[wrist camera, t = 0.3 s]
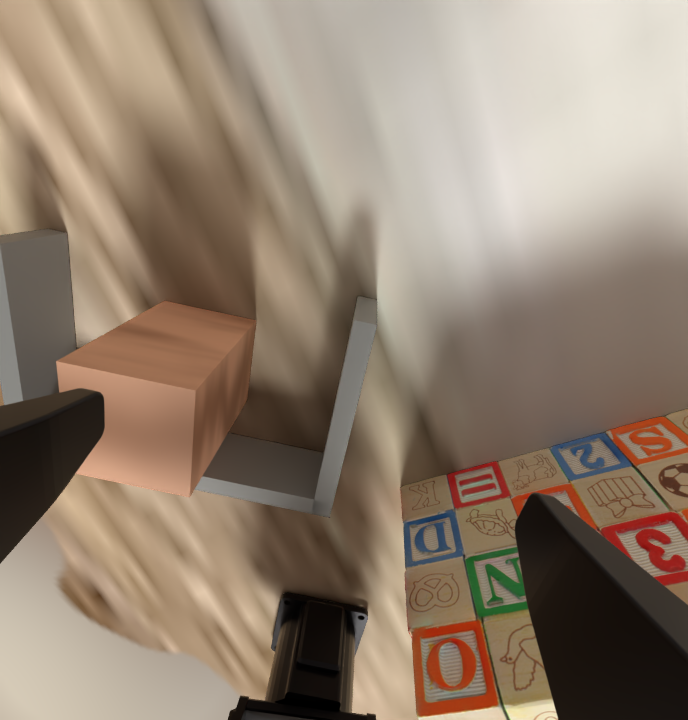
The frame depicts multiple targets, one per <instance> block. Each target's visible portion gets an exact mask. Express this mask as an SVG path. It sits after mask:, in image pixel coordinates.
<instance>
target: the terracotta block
mask: <svg viewBox="0 0 688 720" xmlns="http://www.w3.org/2000/svg"><path fill="white" fill-rule="evenodd" d="M255 329H256V320H252V319H247V318H243V317H238V316H233V315H229V314H224V313H219V312H215V311H210V310H205V309H201V308H196V307H191V306H187V305H182V304H177V303H173V302H168V301H163V302H161V303H159V304H158V305H156V306H154V307H152V308H150V309H149V310H147V311H145V312H143V313H141V314H140V315H138V316H136V317H134V318H133V319H131V320H129V321H127V322H125V323H124V324H122V325H120V326H118V327H116V328H115V329H113V330H111V331H109V332H107V333H106V334H104V335H102V336H100V337H99V338H97V339H95V340H93V341H91V342H90V343H88V344H86V345H84V346H82V347H81V348H79V349H77V350H75V351H73V352H72V353H70V354H68V355H66V356H65V357H63V358H61V359H59V360H57V361H56V364H57V374H58V384H59V393H60V392H64V391H69V390H73V389H77V388H85V389H89V390H94V391H98V392H101V393H102V394H103V396H104V406H105V428H104V432H103V435H102V437H101V438H100V440H99V441H98V443H97V444H96V446H95V447H94V448H93V450H92V451H91V452H90V454H89V455H88V457H87V458H86V459H85V461H84V462H83V464H82V465H81V466H80V468H79V469H78V471H77V472H76V473H75V474H80V475H85V476H89V477H94V478H99V479H104V480H109V481H113V482H118V483H123V484H128V485H133V486H138V487H142V488H147V489H152V490H157V491H162V492H166V493H171V494H176V495H181V496H186V497H190V496H191V494H192V493H193V491H194V489H195V488H196V486H197V484H198V483H199V481H200V479H201V477H202V476H203V474H204V472H205V471H206V469H207V467H208V466H209V464H210V462H211V461H212V459H213V457H214V456H215V454H216V452H217V450H218V449H219V447H220V445H221V444H222V442H223V440H224V439H225V437H226V435H227V434H228V432H229V430H230V429H231V427H232V425H233V423H234V422H235V420H236V418H237V417H238V415H239V413H240V412H241V410H242V408H243V407H244V405H245V403H246V402H247V398H248V389H249V381H250V372H251V363H252V355H253V346H254V338H255Z"/></svg>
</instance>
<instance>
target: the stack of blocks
mask: <svg viewBox="0 0 688 720" xmlns="http://www.w3.org/2000/svg"><path fill="white" fill-rule="evenodd" d="M400 490H401V503H402V519H403V524H404V549H405V568H406V571H405V591H406V606H407V622H408V632H409V634H410V636H411V638H412V650H413V666H414V682H415V697H416V713H417V717H418V720H558V717H557V713H556V710H555V706H554V702H553V699H552V695H551V691H550V688H549V684H548V680H547V677H546V673H545V669H544V666H543V662H542V658H541V655H540V651H539V648H538V644H537V640H536V637H535V633H534V629H533V626H532V622H531V618H530V614H529V610H528V606H527V601H526V596H525V591H524V585H523V579H522V573H521V567H520V561H519V555H518V549H517V543H516V537H515V523H516V520H517V518H518V516H519V514H520V512H521V510H522V508H523V506H524V504H525V502H526V500H527V499H528V497H529V495H530V494H532V493H534V492H537V493H542V494H546V495H551V496H553V497H555V498H556V499H558V500H559V501H560V502H561V503H563V504H564V505H565V506H566V507H568V508H569V509H570V510H571V511H572V512H574V513H575V514H576V515H577V516H579V517H580V518H581V519H582V520H584V521H585V522H586V523H587V524H589V525H590V526H591V527H592V528H594V529H595V530H596V531H597V532H598V533H600V534H601V535H602V536H603V537H605V538H606V539H607V540H608V541H610V542H611V543H612V544H613V545H615V546H616V547H617V548H618V549H619V550H621V551H622V552H623V553H624V554H626V555H627V556H628V557H629V558H631V559H632V560H633V561H634V562H636V563H637V564H638V565H639V566H641V567H642V568H643V569H644V570H645V571H647V572H648V573H649V574H650V575H652V576H653V577H654V578H655V579H657V580H658V581H659V582H660V583H662V584H663V585H664V586H665V587H666V588H668V589H669V590H670V591H671V592H673V593H674V594H675V595H676V596H678V597H679V598H680V599H681V600H683V601H684V602H685V603H686V604H687V605H688V409H685V410H681V411H678V412H674V413H671V414H668V415H666V416H664V417H656V418H652V419H648V420H645V421H641V422H637V423H633V424H629V425H625V426H622V427H618V428H615V429H610V430H607V431H606V432H605V433H600V434H596V435H592V436H589V437H585V438H581V439H578V440H574V441H571V442H567V443H563V444H559V445H555V446H552V447H551V448H547V449H542V450H538V451H535V452H531V453H528V454H524V455H520V456H517V457H513V458H509V459H506V460H502V461H499V462H496V461H495V462H491V463H487V464H483V465H479V466H476V467H472V468H469V469H465V470H461V471H457V472H454V473H450V474H447V475H441V476H438V477H434V478H430V479H426V480H423V481H419V482H415V483H412V484H408V485H404V486H402V487H401V489H400Z"/></svg>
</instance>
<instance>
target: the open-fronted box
mask: <svg viewBox="0 0 688 720" xmlns="http://www.w3.org/2000/svg"><path fill="white" fill-rule="evenodd" d="M376 328H377V300H376V299H371V298H366V297H362V296H358V297H357V302H356V307H355V311H354V316H353V320H352V325H351V329H350V334H349V338H348V343H347V348H346V352H345V357H344V361H343V366H342V370H341V375H340V379H339V384H338V389H337V393H336V398H335V402H334V407H333V411H332V416H331V421H330V425H329V430H328V434H327V439H326V443H325V448H324V452H323V453H322V452H317V451H313V450H308V449H303V448H298V447H294V446H289V445H284V444H279V443H275V442H270V441H265V440H260V439H256V438H251V437H246V436H241V435H237V434H232V433H228V434H227V435H226V437H225V439H224V440H223V442H222V444H221V445H220V447H219V449H218V450H217V452H216V454H215V456H214V457H213V459H212V461H211V462H210V464H209V466H208V467H207V469H206V471H205V472H204V474H203V476H202V477H201V479H200V481H199V483H198V484H197V486H196V488H195V489H194V490H199V491H204V492H208V493H213V494H218V495H223V496H228V497H232V498H237V499H242V500H247V501H252V502H256V503H261V504H266V505H271V506H276V507H280V508H285V509H290V510H295V511H300V512H304V513H309V514H314V515H319V516H324V517H328V518H330V514H331V510H332V506H333V502H334V498H335V494H336V490H337V486H338V482H339V477H340V473H341V469H342V465H343V461H344V457H345V453H346V449H347V445H348V441H349V437H350V433H351V429H352V425H353V421H354V417H355V413H356V409H357V405H358V401H359V397H360V392H361V388H362V384H363V380H364V376H365V372H366V368H367V364H368V360H369V356H370V352H371V348H372V344H373V340H374V336H375V332H376ZM75 350H76V338H75V326H74V313H73V301H72V288H71V275H70V263H69V250H68V238H67V233H65V232H60V231H56V230H51V229H42V230H35V231H28V232H21V233H14V234H7V235H0V383H1V389H2V395H3V400H4V405H7V404H12V403H16V402H20V401H25V400H29V399H33V398H38V397H42V396H47V395H51V394H55V393H59V384H58V374H57V364H56V361H57V360H59V359H61V358H63V357H65V356H66V355H68V354H70V353H72V352H73V351H75Z"/></svg>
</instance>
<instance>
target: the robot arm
mask: <svg viewBox="0 0 688 720" xmlns="http://www.w3.org/2000/svg"><path fill="white" fill-rule="evenodd" d="M104 428H105V406H104V396H103V394H102V393H101V392H98V391H94V390H89V389H85V388H77V389H73V390H69V391H64V392H60V393H55V394H51V395H47V396H42V397H38V398H33V399H29V400H25V401H20V402H16V403H12V404H7V405H3V406H0V563H1V562H2V561H3V560H4V559H5V558H6V556H7V555H8V554H9V553H10V552H11V551H12V550H13V549H14V547H15V546H16V545H17V544H18V543H19V542H20V541H21V539H22V538H23V537H24V536H25V535H26V534H27V533H28V532H29V530H30V529H31V528H32V527H33V526H34V525H35V524H36V522H37V521H38V520H39V519H40V518H41V517H42V516H43V515H44V513H45V512H46V511H47V510H48V509H49V508H50V506H51V505H52V504H53V503H54V502H55V500H56V499H57V498H58V497H59V495H60V494H61V493H62V491H63V490H64V489H65V487H66V486H67V485H68V483H69V482H70V480H71V479H72V478H73V476H74V475H75V473H76V472H77V471H78V469H79V468H80V466H81V465H82V464H83V462H84V461H85V459H86V458H87V457H88V455H89V454H90V452H91V451H92V450H93V448H94V447H95V446H96V444H97V443H98V441H99V440H100V438H101V437H102V435H103V432H104ZM515 537H516V543H517V549H518V555H519V561H520V567H521V573H522V579H523V585H524V591H525V596H526V601H527V606H528V610H529V614H530V618H531V622H532V626H533V629H534V633H535V637H536V640H537V644H538V648H539V651H540V655H541V658H542V662H543V666H544V669H545V673H546V677H547V680H548V684H549V688H550V691H551V695H552V699H553V702H554V706H555V710H556V713H557V717H558V720H688V605H687V604H686V603H685V602H684V601H683V600H681V599H680V598H679V597H678V596H676V595H675V594H674V593H673V592H671V591H670V590H669V589H668V588H666V587H665V586H664V585H663V584H662V583H660V582H659V581H658V580H657V579H655V578H654V577H653V576H652V575H650V574H649V573H648V572H647V571H645V570H644V569H643V568H642V567H641V566H639V565H638V564H637V563H636V562H634V561H633V560H632V559H631V558H629V557H628V556H627V555H626V554H624V553H623V552H622V551H621V550H619V549H618V548H617V547H616V546H615V545H613V544H612V543H611V542H610V541H608V540H607V539H606V538H605V537H603V536H602V535H601V534H600V533H598V532H597V531H596V530H595V529H594V528H592V527H591V526H590V525H589V524H587V523H586V522H585V521H584V520H582V519H581V518H580V517H579V516H577V515H576V514H575V513H574V512H572V511H571V510H570V509H569V508H568V507H566V506H565V505H564V504H563V503H561V502H560V501H559V500H558V499H556V498H555V497H553V496H551V495H546V494H542V493H537V492H534V493H532V494H530V495H529V497H528V499H527V500H526V502H525V504H524V506H523V508H522V510H521V512H520V514H519V516H518V518H517V520H516V523H515ZM367 620H368V611H367V610H366V609H364V608H360V607H355V606H350V605H345V604H340V603H336V602H331V601H326V600H321V599H316V598H311V597H306V596H302V595H297V594H292V593H284V594H282V597H281V601H280V606H279V611H278V616H277V621H276V626H275V630H274V635H273V640H272V645H271V649H272V650H273V651H275V655H274V660H273V664H272V669H271V674H270V678H269V683H268V688H267V692H266V697H265V701H263V700H255V699H249V697H247V696H240V698H239V702H238V705H237V707H236V709H233V710H231V711H230V714H229V717H228V720H376V715H375V714H369V713H367V715H363V714H356V713H352V698H353V677H354V657H355V654H356V651H357V649H358V646H359V643H360V640H361V637H362V634H363V631H364V628H365V625H366V623H367Z"/></svg>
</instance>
